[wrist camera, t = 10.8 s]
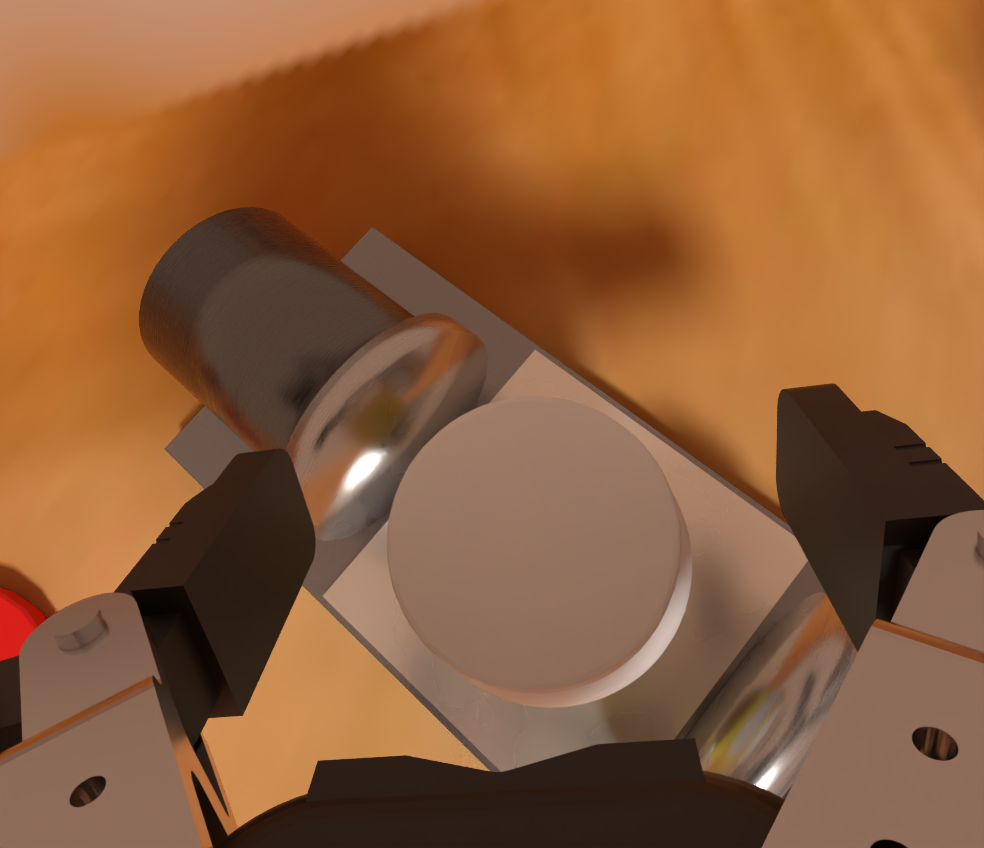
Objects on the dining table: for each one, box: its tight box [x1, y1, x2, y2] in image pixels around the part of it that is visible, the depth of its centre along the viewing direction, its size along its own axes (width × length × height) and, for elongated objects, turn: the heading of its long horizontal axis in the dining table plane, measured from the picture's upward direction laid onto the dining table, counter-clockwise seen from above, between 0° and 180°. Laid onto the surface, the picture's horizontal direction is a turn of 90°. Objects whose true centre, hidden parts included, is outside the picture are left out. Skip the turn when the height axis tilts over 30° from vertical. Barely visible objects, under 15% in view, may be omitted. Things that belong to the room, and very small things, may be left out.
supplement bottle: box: [387, 396, 692, 708], centre depth 13 cm, size 5×5×8 cm
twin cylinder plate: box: [139, 207, 858, 799], centre depth 15 cm, size 22×9×6 cm, turn 49°
